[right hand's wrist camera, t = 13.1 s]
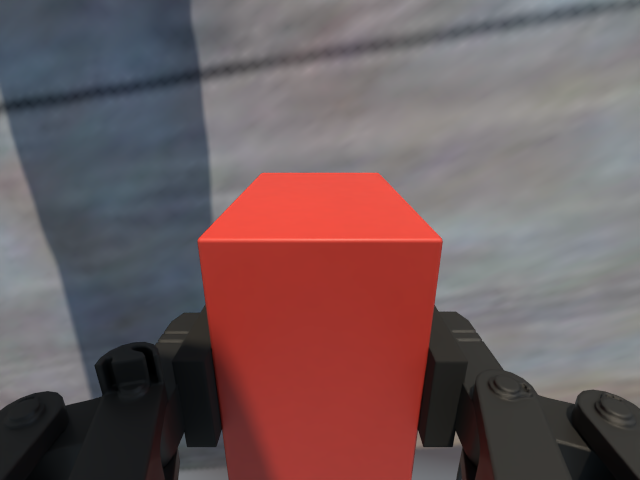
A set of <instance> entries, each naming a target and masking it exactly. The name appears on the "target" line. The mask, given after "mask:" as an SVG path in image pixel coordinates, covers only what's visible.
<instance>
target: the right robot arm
mask: <svg viewBox="0 0 640 480" xmlns="http://www.w3.org/2000/svg"><path fill="white" fill-rule="evenodd" d="M94 366H95V369H96V373H97V376H98V380H99V383H100V387H101V391H102V394H103V395H102V397H99V398H96V399H92V400H88V401H83V402H79V403H75V404H70V405H66V406H65V403H64V400H63V397H62V396H61V395H59V394H58V393H57V392H49V391H46V392H39V393H34V394H31V395H28V396H25V397H22V398H20V399H18V400H16V401H14V402H13V403H11V404H9V405H7V406H6V407H4V408H3V409H2V410H0V480H178V475H179V465H180V459H179V452H178V445H179V443H180V441H181V438H182V436H183V434H184V432H185V438H186V443H187V447H216V446H217V443H218V440H219V437H220V433H221V430H222V424H221V416H220V409H219V401H218V394H217V386H216V378H215V371H214V363H213V356H212V348H211V340H210V333H209V325H208V318H207V310H206V304H205V306H204V308H203V310H202V311H201V313H183V314H182V315H180V316H179V317H177V318H176V319H175V320H173V321H172V322H171V323H170V325H169V326H168V327H167V329H166V330H165V332H164V334H162V336H161V337H160V339H159V340H158V343H156V344H155V345H154V344H151V343H146V342H135V343H130V344H126V345H122V346H120V347H117V348H115V349H113V350H111V351H109V352H108V353H106V354H105V355H104V356H102V357H101V358H100V359H99V360H98V362H97V363H96V364H95V365H94ZM418 431H419V434H420V437H421V441H422V444H423V447H453V442H454V436H455V431H456V432H457V435H458V437H459V439H460V442H461V444H462V446H463V447H462V452H461V458H460V463H459V468H458V473H457V479H456V480H640V409H639V408H638V407H637V406H636V405H634V404H633V403H631V402H629V401H627V400H625V399H623V398H621V397H619V396H617V395H614V394H611V393H608V392H605V391H598V390H587V391H583V392H581V393H580V394H579V395H578V396H577V399H576V402H575V404H572V403H567V402H563V401H559V400H554V399H550V398H546V397H543V396H539V395H538V394H537V393H536V391H535V390H534V388H533V387H532V386H531V385H530V384H529V383H528V382H527V381H525V380H524V379H523V378H521V377H519V376H517V375H515V374H513V373H511V372H507V371H504V370H503V368H502V367H501V366H500V364H499V363H498V361H497V360H496V359H495V357H494V356H493V354H492V353H491V352H490V350H489V349H488V347H487V346H486V345H485V343H484V342H483V341H482V339H481V338H480V336H479V335H478V333H476V331H475V329H474V328H473V326H472V325H471V323H470V322H469V321H468V320H467V319H466V318H464V317H463V316H461V315H460V314H458V313H457V312H438V310H437V308H436V307H435V305H434V311H433V319H432V326H431V334H430V341H429V349H428V356H427V364H426V371H425V379H424V387H423V394H422V402H421V409H420V417H419V425H418Z"/></svg>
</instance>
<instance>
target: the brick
mask: <svg viewBox="0 0 640 480" xmlns="http://www.w3.org/2000/svg"><path fill="white" fill-rule="evenodd" d="M197 242H198V249H199V257H200V264H201V272H202V280H203V287H204V295H205V302H206V310H207V318H208V325H209V333H210V340H211V348H212V356H213V363H214V371H215V378H216V386H217V394H218V401H219V409H220V416H221V424H222V432H223V439H224V447H225V455H226V462H227V470H228V477H229V480H411V478H412V471H413V463H414V455H415V448H416V440H417V433H418V425H419V417H420V409H421V402H422V394H423V387H424V379H425V371H426V364H427V356H428V349H429V341H430V334H431V326H432V319H433V311H434V303H435V296H436V288H437V281H438V273H439V265H440V258H441V250H442V243H443V241H442V238H441V237H440V236H439V235H438V234H437V233H436V232H435V231H434V230H433V229H432V228H431V227H430V226H429V225H428V224H427V223H426V222H425V221H424V220H423V219H422V218H421V217H420V216H419V215H418V213H417V212H416V211H415V210H414V209H413V208H412V207H411V206H410V205H409V204H408V203H407V202H406V201H405V200H404V199H403V198H402V197H401V196H400V195H399V194H398V193H397V192H396V191H395V190H394V189H393V188H392V187H391V186H390V185H389V183H388V182H387V181H386V180H385V179H384V178H383V177H382V176H381V175H380V174H379V173H261V174H260V175H259V176H258V177H257V178H256V179H255V180H254V182H253V183H252V184H251V185H250V186H249V187H248V188H247V189H246V190H245V191H244V192H243V193H242V194H241V195H240V196H239V197H238V198H237V199H236V200H235V201H234V202H233V203H232V204H231V205H230V206H229V207H228V208H227V209H226V211H225V212H224V213H223V214H222V215H221V216H220V217H219V218H218V219H217V220H216V221H215V222H214V223H213V224H212V225H211V226H210V227H209V228H208V229H207V230H206V231H205V232H204V233H203V234H202V235H201V236H200V237H199V238H198V241H197Z"/></svg>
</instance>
